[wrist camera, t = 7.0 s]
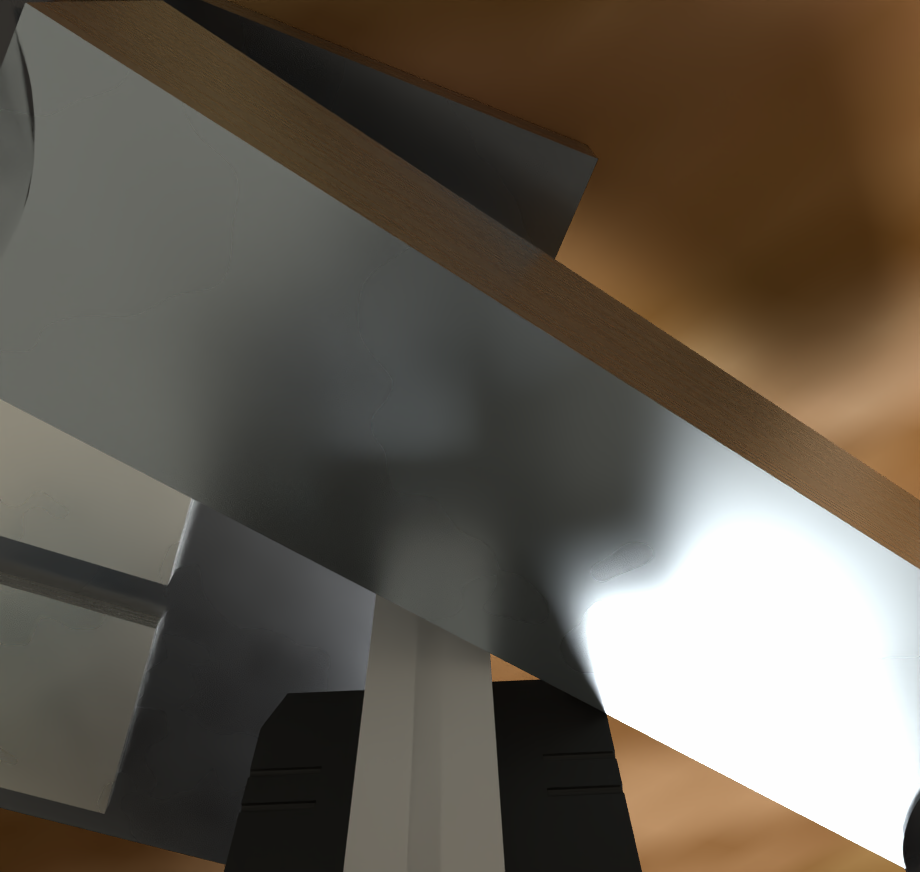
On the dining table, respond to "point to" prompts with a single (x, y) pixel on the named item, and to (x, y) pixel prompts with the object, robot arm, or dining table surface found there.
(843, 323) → the dining table surface
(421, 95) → the plate
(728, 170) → the dining table surface
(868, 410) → the dining table surface
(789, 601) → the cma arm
